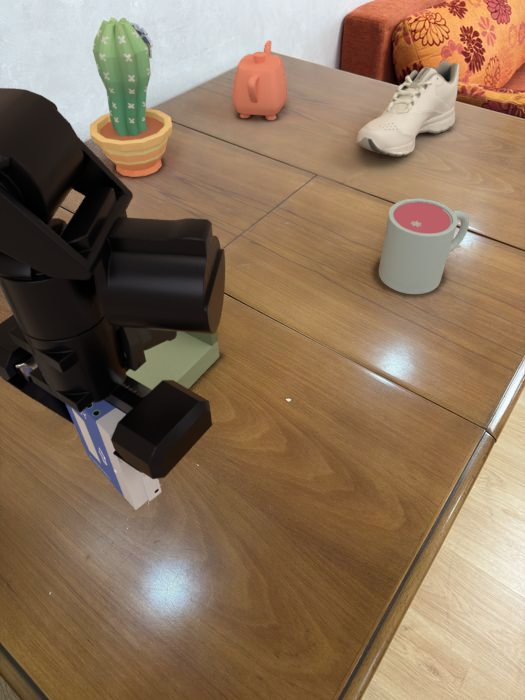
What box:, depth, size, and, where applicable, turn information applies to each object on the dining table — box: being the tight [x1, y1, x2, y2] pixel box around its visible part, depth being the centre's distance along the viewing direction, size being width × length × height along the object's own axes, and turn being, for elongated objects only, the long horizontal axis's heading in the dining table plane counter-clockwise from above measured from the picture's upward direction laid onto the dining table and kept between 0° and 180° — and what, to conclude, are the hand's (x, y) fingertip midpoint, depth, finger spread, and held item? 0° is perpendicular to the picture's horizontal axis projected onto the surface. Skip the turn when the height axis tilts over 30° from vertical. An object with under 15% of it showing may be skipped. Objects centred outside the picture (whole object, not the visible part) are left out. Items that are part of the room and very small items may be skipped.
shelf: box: [126, 330, 221, 390], centre depth 66 cm, size 14×15×6 cm
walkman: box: [66, 400, 163, 511], centre depth 45 cm, size 8×3×12 cm, turn 45°
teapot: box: [232, 40, 288, 121], centre depth 117 cm, size 20×12×12 cm, turn 169°
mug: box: [378, 198, 470, 295], centre depth 77 cm, size 14×9×10 cm
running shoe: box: [355, 60, 460, 158], centre depth 105 cm, size 11×30×13 cm, turn 139°
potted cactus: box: [89, 17, 173, 178], centre depth 96 cm, size 15×15×25 cm
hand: (114, 444), depth 46 cm, fingers closed on walkman, 8 cm apart
